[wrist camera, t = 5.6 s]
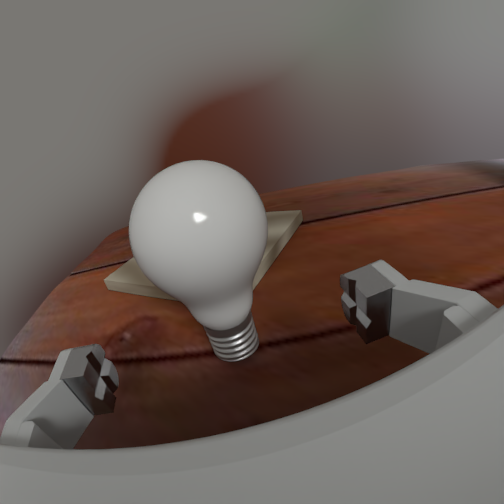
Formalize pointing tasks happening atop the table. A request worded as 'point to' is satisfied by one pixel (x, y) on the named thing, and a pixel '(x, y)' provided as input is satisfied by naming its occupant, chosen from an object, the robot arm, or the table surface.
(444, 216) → the table surface
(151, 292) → the jig
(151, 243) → the lightbulb
